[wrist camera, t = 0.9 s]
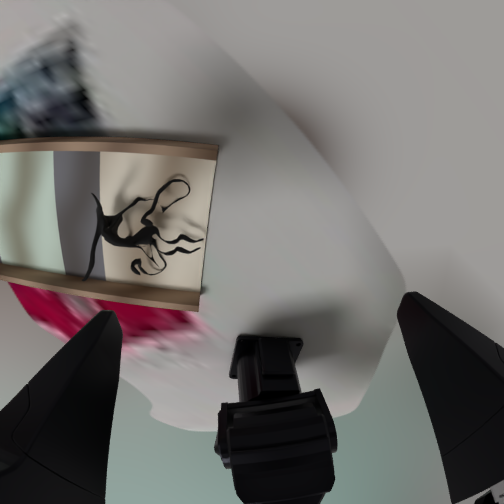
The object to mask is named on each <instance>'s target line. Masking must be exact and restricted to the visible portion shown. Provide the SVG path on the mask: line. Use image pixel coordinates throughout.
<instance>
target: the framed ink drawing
mask: <svg viewBox="0 0 504 504" xmlns="http://www.w3.org/2000/svg"><path fill="white" fill-rule="evenodd" d="M217 154H218V145H211V144H202V143H193V142H183V141H172V140H160V139H145V138H126V137H42V138H24V139H11V140H0V280H4V281H8V282H12V283H17V284H21V285H26V286H31V287H35V288H40V289H45V290H50V291H56V292H61V293H66V294H72V295H77V296H83V297H89V298H95V299H102V300H108V301H114V302H121V303H128V304H135V305H143V306H151V307H159V308H167V309H175V310H185V311H194V312H198V311H199V299H200V288H201V277H202V268H203V259H204V250H205V241H206V232H207V224H208V216H209V208H210V201H211V193H212V186H213V179H214V172H215V165H216V160H217ZM173 179H181V180H184V181H185V182H187V183H188V185H189V187H190V193H189V195H188V196H186V195H187V194H188V192H189V189H188V186H187V185H186V184H185V183H184V182H172V183H171V184H170V185H169V186H168V187H167V188H166V189H165V190H164V191H163V192H162V193H161V194H160V196H159V199H158V203H157V205H156V208H155V210H154V211H153V213H152V214H150V215H148V216H147V218H146V219H149V220H150V221H152V222H153V225H154V226H156V227H157V228H158V230H159V233H160V236H161V238H162V239H164V240H167V241H172V240H174V239H177V238H178V236H179V235H180V234H184V235H186V236H188V237H189V238H191V239H193V240H199V239H201V238H204V240H203V241H200V242H196V243H190V242H187V241H185V240H180V241H179V242H178V243H176V244H168V243H166V242H164V241H163V240H161V239H160V238H159V237H158V236H157V235H156V234H154V235H153V236H152V237H153V238H154V239H156V245H157V248H158V250H160V251H161V252H169V251H172V250H174V249H175V247H178V246H179V247H182V248H184V249H186V250H188V251H192V250H194V249H195V248H198V247H201V249H199V250H197V251H195V252H193V253H191V254H186V253H181V252H178V251H177V252H176V253H175V254H173V255H169V256H166V255H164V254H162V253H161V252H159V253H160V255H161V256H162V258H163V259H164V260H165V262H166V264H167V266H166V268H165V269H164V270H163V271H162V272H160V271H161V270H162V269H163V268H164V267H165V264H164V262H163V260H162V259H161V258H160V256H159V254H158V252H157V250H156V249H155V247H154V246H153V245H151V247H150V245H148V246H147V245H139V246H140V247H142V248H143V250H144V251H145V253H146V254H147V255H148V256H149V257H152V255H153V258H154V260H155V262H156V263H157V265H158V266H159V267H158V266H157V265H156V264H155V263H154V262H153V261H152V260H151V259H150V258H149V257H148V256H147V255H146V254H145V253H144V252H143V250H142V249H140V248H128V247H118V246H114V245H112V244H110V243H108V242H107V241H105V240H104V237H103V236H101V235H100V238H99V240H98V243H97V246H96V251H95V264H94V267H93V270H92V272H91V273H90V275H89V277H88V279H87V280H86V281H82V279H83V278H84V277H85V275H86V273H87V270H88V266H89V261H90V252H91V247H92V243H93V239H94V236H95V232H96V227H97V213H96V208H97V203H96V201H95V199H94V197H93V195H92V194H91V193H93V194H94V195H95V196H96V197H97V199H98V200H99V202H100V203H101V206H102V211H103V213H104V215H106V216H111V215H117V214H118V213H119V212H121V211H122V210H123V209H125V208H126V207H128V206H129V205H130V204H131V203H132V202H133V201H134V200H135V199H136V198H137V197H140V198H143V199H146V200H148V199H154V197H155V195H156V193H157V191H158V190H159V189H160V188H161V187H162V186H163V185H165V184H166V183H167V182H168V181H171V180H173ZM184 196H186V197H185V198H183V199H181V200H179V201H177V202H176V203H174V204H172V203H173V202H174V201H175V200H177V199H179V198H182V197H184ZM152 203H153V200H148V201H138V202H137V204H136V205H134V206H133V207H131V208H129V209H128V210H127V211H126V212H124V213H123V214H122V217H123V221H122V222H121V224H120V225H119V227H118V235H119V237H121V238H126V237H127V236H128V235H129V236H134V235H135V234H136V233H137V232H138V231H139V230H140V229H142V228H143V227H145V225H143V224H142V223H141V222H140V221H141V218H142V216H143V215H144V214H145V213H146V212H147V211H148V210H150V209H151V206H152ZM170 204H172V205H171V206H170V207H169V208H168V209H167V210H166V211H165V212H164V213H163V211H162V208H161V206H162V207H163V208H165V207H167V206H169V205H170ZM160 205H161V206H160ZM137 246H138V245H137ZM143 246H145V247H143ZM151 249H152V252H151ZM139 258H141V261H142V264H141V267H142V268H143V269H144V270H145V271H146V272H147V273H148V274H156V273H158V272H160V273H159V274H156V275H152V276H151V275H147V274H144V273H142V272H141V271H140V269H139V268H138V265H135V268H136V269H137V270H138V271H139V272H140V275H137V274H135V273H133V272H132V270H131V269H130V268H131V262H132V261H133V260H134V259H139Z"/></svg>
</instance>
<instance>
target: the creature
mask: <svg viewBox="0 0 504 504" xmlns="http://www.w3.org/2000/svg"><path fill="white" fill-rule="evenodd" d="M172 182H184V183H185V184H186V185H187V186H188V189H189V192H188V194H187V195H186V196H188V195H189V193H190V187H189V185H188V183H187V182H185V181H184V180H181V179H173V180H171V181H168V182H167V183H166V184H165V185H163V186H162V187H161V188H160V189H159V190H158V191H157V193H156V195H155V197H154V199H148V200H153V203H152V206H151V209H150V210H148V211H147V212H146V213H145V214H144V215H143V216H142V218H141V221H140V222H141V223H142V224H143V225H145V227H143V228H142V229H140V230H139V231H138V232H137V233H136V234H135V235H134V236H129V235H128V236H127V237H126V238H121V237H119V235H118V227H119V225H120V224H121V222H122V221H123V217H122V214H123V213H124V212H126V211H127V210H128V209H129V208H131V207H133V206H134V205H136V204H137V202H138V201H148V200H146V199H143V198H140V197H137V198H136V199H135V200H134V201H133V202H132V203H131V204H130V205H129V206H128V207H126V208H125V209H123V210H122V211H121V212H119V213H118V214H117V215H111V216H106V215H104V213H103V211H102V206H101V203H100V202H99V200H98V199H97V197H96V196H95V195H94V194H93V193H91V194H92V195H93V197H94V199H95V201H96V203H97V208H96V213H97V227H96V232H95V236H94V239H93V243H92V247H91V252H90V261H89V266H88V270H87V273H86V275H85V277H84V278H83V279H82V281H86V280H87V279H88V277H89V275H90V273H91V272H92V270H93V267H94V264H95V251H96V246H97V243H98V240H99V238H100V235H101V236H103V237H104V240H105V241H107V242H108V243H110V244H112V245H114V246H118V247H128V248H140V249H142V250H143V248H142V247H140V246H139V245H147V246H148V245H150V247H151V245H153V246H154V247H155V249H156V250H157V252H158V254H159V256H160V258H161V259H162V260H163V262H164V264H165V267H164V268H163V269H162V270H161V271H160V272H162V271H163V270H164V269H165V268H166V266H167V264H166V262H165V260H164V259H163V258H162V256H161V255H160V253H159V252H161V251H160V250H158V248H157V245H156V239H154V238H153V237H152V236H153V235H154V234H156V235H157V236H158V237H159V238H160V239H161V240H163V241H164V242H166V243H168V244H176V243H178V242H179V241H180V240H185V241H187V242H190V243H196V242H200V241H203V240H204V238H201V239H199V240H193V239H191V238H189V237H188V236H186V235H184V234H180V235H179V236H178V238H177V239H174V240H172V241H167V240H164V239H162V238H161V236H160V233H159V230H158V228H157V227H156V226H154V225H153V222H152V221H150V220H149V219H146V218H147V216H148V215H150V214H152V213H153V211H154V210H155V208H156V205H157V203H158V199H159V196H160V194H161V193H162V192H163V191H164V190H165V189H166V188H167V187H168V186H169V185H170V184H171V183H172ZM186 196H184V197H182V198H179V199H177V200H175V201H174V202H173V203H172V204H174V203H176V202H177V201H179V200H181V199H183V198H185V197H186ZM172 204H170V205H169V206H167V207H165V208H163V207H162V206H161V205H160V206H161V208H162V211H163V213H164V212H165V211H166V210H167V209H168V208H169V207H170V206H171V205H172ZM137 245H138V246H137ZM143 247H145V246H143ZM199 249H201V247H198V248H195V249H194V250H192V251H188V250H186V249H184V248H182V247H179V246H178V247H175V249H174V250H172V251H169V252H161V253H162V254H164V255H166V256H169V255H173V254H175V253H176V252H177V251H178V252H181V253H186V254H191V253H193V252H195V251H197V250H199ZM143 252H144V253H145V251H144V250H143ZM151 252H152V249H151ZM145 254H146V253H145ZM146 255H147V254H146ZM147 256H148V255H147ZM148 257H149V256H148ZM149 258H150V259H151V260H152V261H153V262H154V263H155V264H156V265H157V263H156V262H155V260H154V258H153V255H152V257H149ZM141 264H142V261H141V258H139V259H134V260H133V261H132V262H131V268H130V269H131V270H132V272H133V273H135V274H137V275H140V272H139V271H138V270H137V269H136V268H135V265H138V268H139V269H140V271H141V272H142V273H144V274H147V275H151V276H152V275H156V274H159V273H160V272H158V273H156V274H148V273H147V272H146V271H145V270H144V269H143V268H142V267H141ZM157 266H158V265H157ZM158 267H159V266H158Z"/></svg>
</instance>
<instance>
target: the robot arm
mask: <svg viewBox="0 0 504 504" xmlns="http://www.w3.org/2000/svg"><path fill="white" fill-rule="evenodd" d="M397 319H398V322H399V325H400V328H401V332H402V335H403V338H404V342H405V346H406V349H407V353H408V356H409V358H410V361H411V364H412V366H413V369H414V372H415V375H416V378H417V380H418V383H419V386H420V389H421V391H422V395H423V397H424V400H425V403H426V406H427V409H428V413H429V416H430V419H431V422H432V425H433V429H434V432H435V436H436V439H437V443H438V446H439V450H440V454H441V458H442V462H443V466H444V471H445V475H446V479H447V484H448V488H449V494H450V499H451V502H452V504H455V503H458V502H460V501H462V500H465V499H467V498H469V497H472V496H474V495H476V494H478V493H480V492H482V491H484V490H486V489H488V488H490V490H489V491H488V492H486V493H485V494H484V495H482V496H481V497H479V498H478V499H477V500H476V501H475V503H474V504H504V348H503V347H502V346H500V345H499V344H497V343H495V342H494V341H493V340H491V339H490V338H488V337H487V336H485V335H484V334H482V333H481V332H479V331H478V330H476V329H475V328H473V327H472V326H470V325H469V324H467V323H466V322H464V321H463V320H461V319H459V318H458V317H456V316H455V315H453V314H452V313H450V312H449V311H447V310H445V309H444V308H442V307H440V306H439V305H437V304H436V303H434V302H433V301H431V300H429V299H428V298H426V297H424V296H423V295H421V294H420V293H418V292H407V293H405V294H404V296H403V298H402V301H401V303H400V306H399V308H398V311H397ZM122 338H123V333H122V329H121V326H120V324H119V321H118V318H117V316H116V314H115V312H114V311H112V310H102V311H100V312H99V313H98V314H97V315H95V316H94V317H93V318H92V319H91V320H90V321H89V322H88V323H87V324H86V325H85V326H84V327H83V328H82V329H81V330H80V331H79V332H78V333H77V334H76V335H75V336H73V337H72V338H71V339H70V340H69V341H68V342H67V343H66V344H65V345H64V346H63V347H62V349H60V350H59V351H58V352H57V353H56V354H55V356H53V357H52V358H51V359H50V360H49V361H48V362H47V363H46V364H45V366H43V368H42V369H41V370H40V371H39V372H38V373H37V374H36V375H35V376H34V377H33V378H32V379H31V380H30V381H29V382H28V384H26V385H25V386H24V387H23V389H22V390H21V391H20V392H19V393H18V394H17V395H16V396H15V397H14V398H13V399H12V400H11V401H10V402H9V403H8V404H7V405H6V406H5V407H4V408H3V409H2V410H1V411H0V504H105V494H106V492H105V491H106V477H107V464H108V454H109V445H110V436H111V428H112V421H113V414H114V407H115V401H116V395H117V389H118V382H119V374H120V360H121V348H122ZM302 346H303V340H302V339H300V338H275V337H254V336H239V337H238V338H237V339H236V344H235V349H234V353H233V358H232V362H231V367H230V372H229V377H230V378H232V379H238V390H239V402H237V403H228V402H227V403H221V410H220V411H219V413H218V432H217V437H216V441H215V446H214V450H215V453H217V454H218V455H219V456H220V457H221V460H222V461H223V464H224V467H225V468H226V469H232V476H233V482H234V487H235V490H236V494H237V496H238V497H239V498H240V500H241V501H242V502H243V503H244V504H320V502H321V501H322V499H323V497H324V495H325V493H327V492H330V491H331V489H332V487H333V484H334V481H335V475H334V466H333V458H332V453H334V452H336V451H337V434H336V429H335V425H334V421H333V419H332V416H331V414H330V411H329V409H328V406H327V404H326V402H325V399H324V397H323V395H322V392H321V390H320V388H319V389H315V390H314V391H309V392H304V393H302V392H301V388H300V384H299V380H298V375H297V371H296V367H295V362H296V360H297V358H298V355H299V353H300V351H301V349H302Z"/></svg>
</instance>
